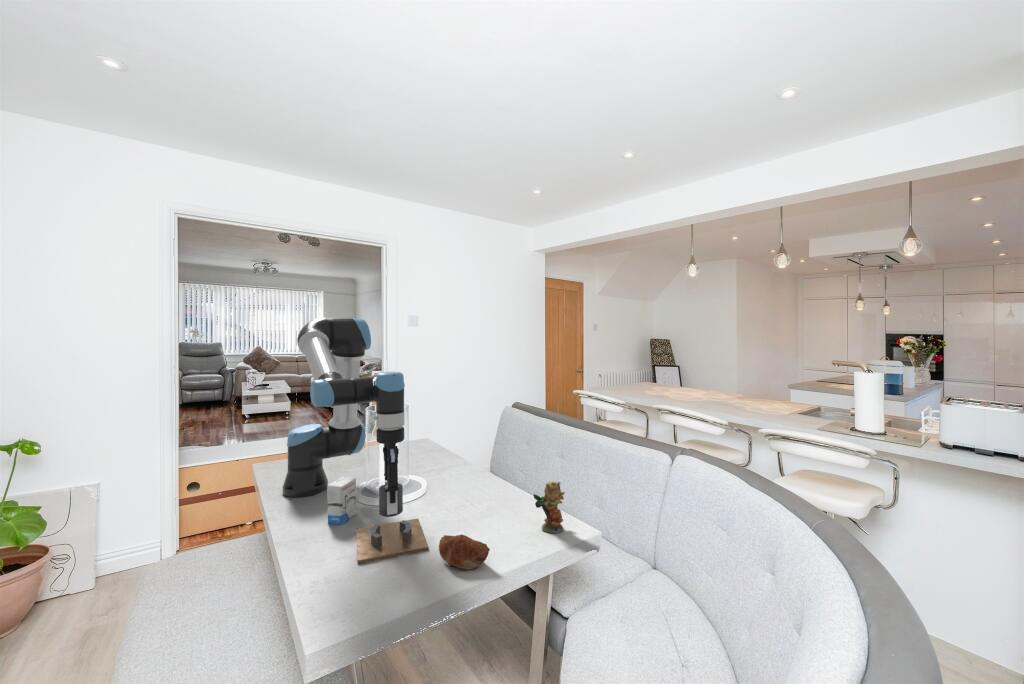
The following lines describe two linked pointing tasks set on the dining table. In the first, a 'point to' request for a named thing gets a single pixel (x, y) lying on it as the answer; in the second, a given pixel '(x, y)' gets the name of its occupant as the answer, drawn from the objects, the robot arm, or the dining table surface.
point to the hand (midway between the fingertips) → (391, 508)
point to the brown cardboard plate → (390, 540)
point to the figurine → (551, 507)
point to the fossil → (463, 551)
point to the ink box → (341, 500)
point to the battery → (384, 500)
